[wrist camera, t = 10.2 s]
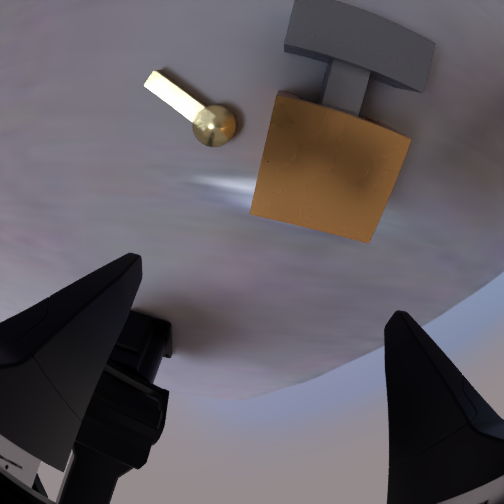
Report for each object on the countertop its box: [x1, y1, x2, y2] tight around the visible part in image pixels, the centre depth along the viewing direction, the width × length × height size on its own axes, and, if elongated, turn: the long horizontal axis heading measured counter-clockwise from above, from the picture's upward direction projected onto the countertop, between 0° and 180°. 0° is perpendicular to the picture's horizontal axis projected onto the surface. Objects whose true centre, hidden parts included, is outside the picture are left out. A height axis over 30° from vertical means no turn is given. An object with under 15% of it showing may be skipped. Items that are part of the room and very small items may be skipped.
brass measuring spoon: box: [144, 70, 237, 147], centre depth 16 cm, size 7×3×1 cm, turn 49°
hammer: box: [284, 0, 435, 116], centre depth 14 cm, size 12×7×4 cm, turn 169°
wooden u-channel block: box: [250, 91, 411, 243], centre depth 15 cm, size 6×6×5 cm
